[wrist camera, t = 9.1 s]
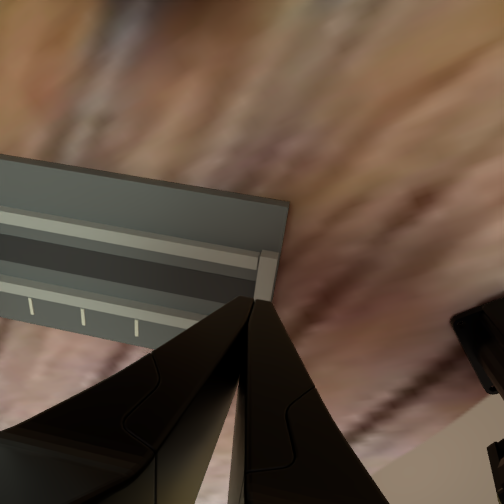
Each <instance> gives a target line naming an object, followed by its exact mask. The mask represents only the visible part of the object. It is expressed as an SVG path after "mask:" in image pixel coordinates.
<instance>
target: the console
mask: <svg viewBox="0 0 504 504" xmlns="http://www.w3.org/2000/svg"><path fill="white" fill-rule="evenodd" d="M289 203H290V202H288V201H282V200H276V199H270V198H263V197H257V196H251V195H245V194H239V193H233V192H227V191H221V190H215V189H209V188H203V187H197V186H191V185H185V184H179V183H173V182H167V181H161V180H155V179H149V178H143V177H137V176H130V175H124V174H118V173H112V172H106V171H100V170H94V169H88V168H82V167H76V166H70V165H64V164H58V163H52V162H46V161H40V160H34V159H28V158H22V157H16V156H10V155H4V154H0V317H3V318H8V319H13V320H18V321H22V322H27V323H32V324H36V325H41V326H46V327H51V328H55V329H60V330H65V331H70V332H74V333H79V334H84V335H89V336H93V337H98V338H103V339H107V340H112V341H117V342H122V343H126V344H131V345H136V346H141V347H145V348H150V349H157V348H158V347H160V346H161V345H163V344H164V343H166V342H167V341H169V340H171V339H172V338H174V337H175V336H177V335H178V334H180V333H181V332H183V331H185V330H186V329H188V328H189V327H191V326H192V325H194V324H195V323H197V322H199V321H200V320H202V319H203V318H205V317H206V316H208V315H209V314H211V313H213V312H214V311H216V310H217V309H219V308H220V307H222V306H223V305H225V304H227V303H228V302H230V301H231V300H233V299H234V298H236V297H237V296H245V297H250V298H253V299H254V301H255V300H256V299H261V300H266V301H270V302H271V303H272V299H273V294H274V288H275V282H276V277H277V271H278V266H279V260H280V254H281V249H282V243H283V237H284V232H285V226H286V220H287V215H288V209H289Z"/></svg>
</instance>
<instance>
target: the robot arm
mask: <svg viewBox="0 0 504 504" xmlns="http://www.w3.org/2000/svg"><path fill="white" fill-rule="evenodd" d="M462 321H463V323H462V324H461V325H457V324H458V323H459V322H462ZM450 323H451V326H452V328H453V330H454V331H455V333H456V335H457V337H458V339H459V341H460V343H461V345H462V347H463V349H464V351H465V353H466V355H467V357H468V359H469V361H470V363H471V365H472V367H473V368H474V370H475V372H476V374H477V376H478V378H479V380H480V382H481V384H482V386H483V388H484V389H485V391H486V392H487V393H489V394H498V393H499V394H500V395H501V397H502V398H503V400H504V297H503V298H500V299H498V300H495V301H492V302H490V303H487V304H485V305H482V306H479V307H477V308H474V309H471V310H469V311H466V312H463V313H461V314H458V315H455V316H454V317H453V318H452V319H451V321H450ZM238 382H239V385H238ZM237 385H238V393H237V403H236V414H235V425H234V436H233V448H232V459H231V470H230V481H229V492H228V503H227V504H389V502H388V501H387V499H386V498H385V496H384V495H383V494H382V492H381V491H380V489H379V488H378V486H377V485H376V483H375V482H374V480H373V479H372V477H371V476H370V475H369V473H368V472H367V470H366V469H365V467H364V466H363V464H362V463H361V461H360V460H359V458H358V457H357V455H356V454H355V453H354V451H353V450H352V448H351V447H350V445H349V444H348V442H347V441H346V439H345V437H344V436H343V434H342V433H341V431H340V430H339V428H338V427H337V425H336V424H335V422H334V420H333V419H332V417H331V415H330V413H329V411H328V410H327V408H326V406H325V404H324V403H323V401H322V399H321V397H320V395H319V393H318V391H317V389H316V388H315V385H314V383H313V382H312V380H311V378H310V376H309V374H308V372H307V370H306V368H305V366H304V364H303V362H302V360H301V358H300V356H299V355H298V353H297V351H296V349H295V347H294V345H293V343H292V341H291V339H290V337H289V335H288V333H287V331H286V329H285V327H284V326H283V324H282V322H281V320H280V318H279V316H278V314H277V312H276V310H275V308H274V306H273V304H272V303H271V302H270V301H266V300H261V299H256V300H255V301H254V299H253V298H250V297H245V296H237V297H236V298H234V299H233V300H231V301H230V302H228V303H227V304H225V305H223V306H222V307H220V308H219V309H217V310H216V311H214V312H213V313H211V314H209V315H208V316H206V317H205V318H203V319H202V320H200V321H199V322H197V323H195V324H194V325H192V326H191V327H189V328H188V329H186V330H185V331H183V332H181V333H180V334H178V335H177V336H175V337H174V338H172V339H171V340H169V341H167V342H166V343H164V344H163V345H161V346H160V347H158V348H157V349H155V350H153V351H152V352H151V353H149V354H147V355H145V356H144V357H142V358H141V359H139V360H138V361H136V362H134V363H133V364H131V365H129V366H128V367H126V368H124V369H123V370H121V371H119V372H118V373H116V374H114V375H112V376H111V377H109V378H107V379H105V380H103V381H101V382H99V383H98V384H96V385H94V386H92V387H90V388H88V389H86V390H84V391H82V392H80V393H78V394H76V395H74V396H73V397H71V398H69V399H67V400H65V401H63V402H61V403H59V404H57V405H55V406H53V407H51V408H49V409H47V410H45V411H43V412H41V413H39V414H37V415H35V416H33V417H32V418H30V419H28V420H26V421H23V422H21V423H19V424H17V425H15V426H13V427H10V428H7V429H5V430H2V431H0V504H194V503H195V500H196V498H197V495H198V492H199V490H200V487H201V484H202V481H203V479H204V476H205V473H206V471H207V468H208V465H209V462H210V460H211V457H212V454H213V452H214V449H215V446H216V443H217V441H218V438H219V435H220V432H221V430H222V427H223V424H224V422H225V419H226V416H227V413H228V411H229V408H230V405H231V403H232V400H233V397H234V394H235V391H236V388H237ZM491 386H493V387H491ZM487 451H488V456H489V460H490V465H491V469H492V474H493V479H494V483H495V488H496V492H497V498H498V502H499V504H504V439H502V440H501V441H499V442H494V443H492V444H491V445H489V446H488V447H487Z"/></svg>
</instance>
